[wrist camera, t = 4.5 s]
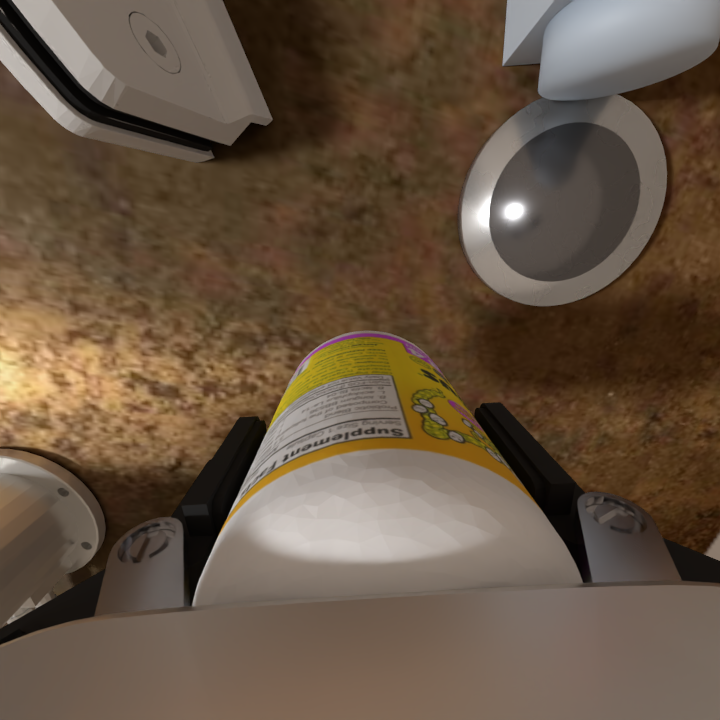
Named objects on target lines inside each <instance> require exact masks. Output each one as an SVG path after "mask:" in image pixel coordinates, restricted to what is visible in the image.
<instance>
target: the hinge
mask: <svg viewBox="0 0 720 720" xmlns="http://www.w3.org/2000/svg"><path fill="white" fill-rule="evenodd" d="M0 60H1V62H2V63H3V64H4V65H5V66H6V67H7V68H8V69H9V71H10V72H11V73H12V74H13V75H14V76H15V77H16V79H17V80H18V81H19V82H20V83H21V84H22V85H23V86H24V88H25V89H26V90H27V91H28V92H29V93H30V94H31V95H32V96H33V97H34V98H35V99H36V100H37V101H38V102H39V104H40V105H41V106H42V107H43V108H44V109H45V110H46V111H47V112H48V113H49V114H50V115H51V116H52V117H53V118H54V119H55V120H56V121H57V122H58V123H59V124H61V125H62V126H63V127H64V128H66V129H67V130H69V131H71V132H73V133H75V134H77V135H79V136H82V137H86V138H91V139H95V140H99V141H104V142H108V143H113V144H117V145H121V146H126V147H130V148H134V149H139V150H143V151H148V152H152V153H156V154H161V155H165V156H170V157H174V158H178V159H183V160H187V161H191V162H196V163H198V162H203V161H206V160H209V159H212V158H214V156H213V154H212V152H211V149H212V148H213V146H212V144H211V142H210V141H212V142H215V143H218V144H219V143H222V144H226V145H229V146H231V145H232V144H233V142H234V141H235V140H236V139H237V138H238V137H239V135H240V134H241V133H242V132H243V131H244V130H245V128H246V127H247V126H248V125H249V124H250V123H251V122H252V123H257V124H261V125H265V126H266V125H268V124H269V123H270V122H271V121H272V120H273V119H272V116H271V114H270V112H269V109H268V107H267V105H266V102H265V100H264V97H263V95H262V93H261V90H260V88H259V86H258V83H257V81H256V79H255V76H254V74H253V71H252V69H251V67H250V64H249V62H248V60H247V57H246V55H245V52H244V50H243V48H242V45H241V43H240V41H239V38H238V36H237V34H236V31H235V29H234V26H233V24H232V22H231V19H230V17H229V15H228V12H227V10H226V7H225V5H224V3H223V0H0Z"/></svg>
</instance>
